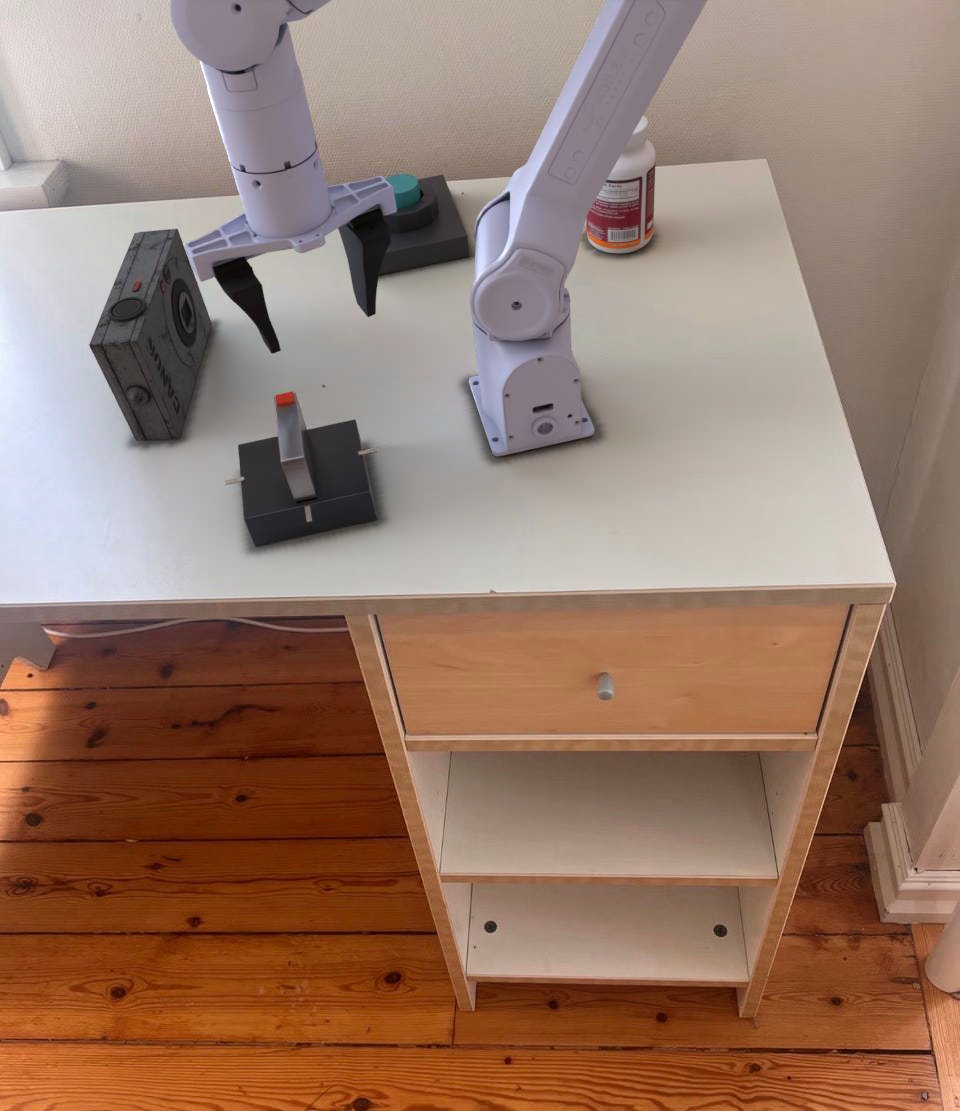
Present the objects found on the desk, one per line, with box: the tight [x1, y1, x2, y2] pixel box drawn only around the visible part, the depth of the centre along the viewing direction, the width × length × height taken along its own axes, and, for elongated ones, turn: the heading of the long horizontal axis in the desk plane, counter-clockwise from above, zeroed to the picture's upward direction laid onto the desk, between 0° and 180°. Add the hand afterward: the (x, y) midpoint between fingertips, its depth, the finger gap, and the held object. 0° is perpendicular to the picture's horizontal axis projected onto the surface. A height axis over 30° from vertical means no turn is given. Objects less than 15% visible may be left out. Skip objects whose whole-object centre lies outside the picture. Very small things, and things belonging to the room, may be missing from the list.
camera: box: [88, 228, 213, 442], centre depth 79 cm, size 16×4×10 cm, turn 0°
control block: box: [379, 174, 471, 276], centre depth 93 cm, size 12×10×4 cm
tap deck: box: [224, 419, 378, 548], centre depth 71 cm, size 11×11×3 cm
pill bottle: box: [586, 115, 657, 254], centre depth 87 cm, size 6×6×11 cm
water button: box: [385, 173, 421, 209], centre depth 92 cm, size 4×4×2 cm
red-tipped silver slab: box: [273, 390, 317, 502], centre depth 69 cm, size 7×2×4 cm, turn 11°
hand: (319, 327), depth 72 cm, fingers open, 7 cm apart
